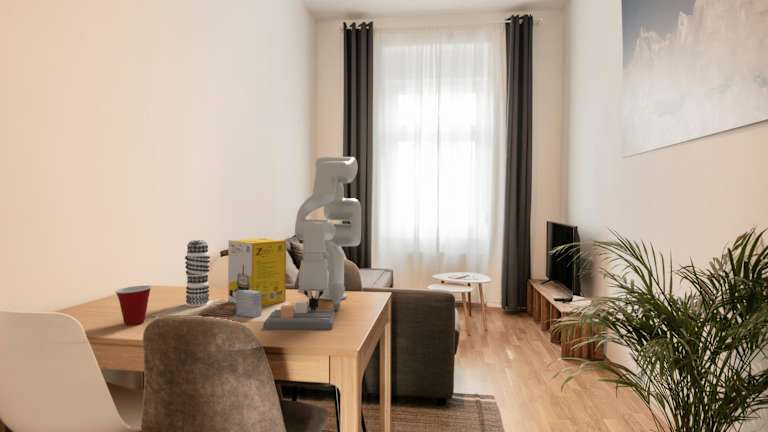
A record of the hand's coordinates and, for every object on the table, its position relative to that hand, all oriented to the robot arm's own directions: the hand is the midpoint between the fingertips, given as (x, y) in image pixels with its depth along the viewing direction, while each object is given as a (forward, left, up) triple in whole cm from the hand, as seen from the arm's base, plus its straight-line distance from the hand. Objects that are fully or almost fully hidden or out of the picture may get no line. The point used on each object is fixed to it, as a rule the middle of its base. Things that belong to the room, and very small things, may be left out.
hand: (313, 309), depth 159 cm
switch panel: (+4, -4, -4) cm, 6 cm away
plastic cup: (+5, -59, -4) cm, 59 cm away
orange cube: (+7, -8, -1) cm, 11 cm away
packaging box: (-28, -26, -4) cm, 39 cm away
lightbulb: (-14, +7, -4) cm, 17 cm away
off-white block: (0, -4, -1) cm, 4 cm away
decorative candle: (-23, -48, -4) cm, 53 cm away
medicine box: (-6, -24, -4) cm, 25 cm away
